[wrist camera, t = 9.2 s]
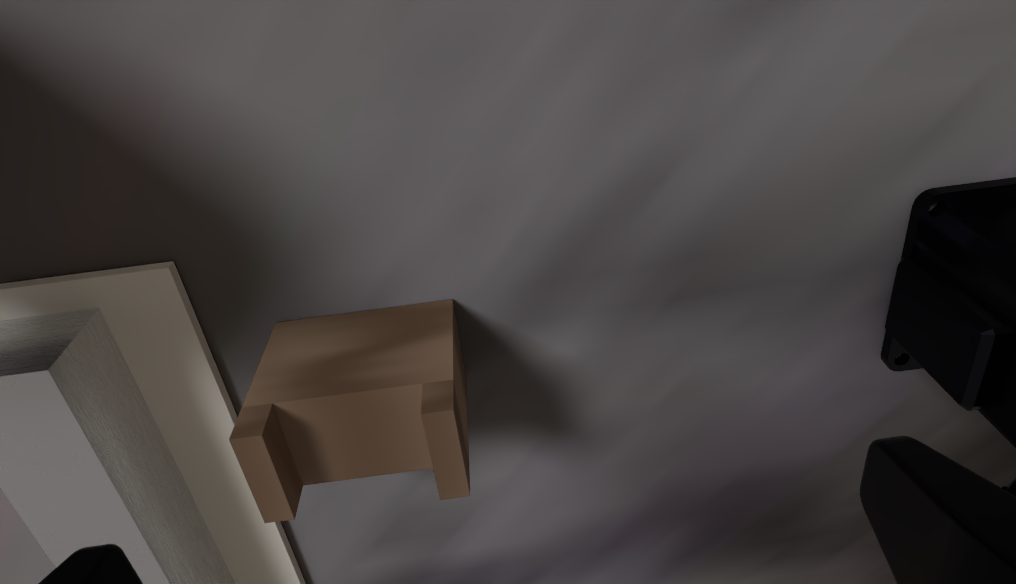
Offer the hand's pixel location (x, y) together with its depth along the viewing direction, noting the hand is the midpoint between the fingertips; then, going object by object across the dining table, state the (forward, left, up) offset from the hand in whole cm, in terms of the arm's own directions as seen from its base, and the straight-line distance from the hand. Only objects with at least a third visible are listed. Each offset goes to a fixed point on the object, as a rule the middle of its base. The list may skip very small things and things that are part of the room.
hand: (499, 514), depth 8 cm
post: (+4, +6, -12) cm, 14 cm away
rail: (+13, +14, -12) cm, 22 cm away
